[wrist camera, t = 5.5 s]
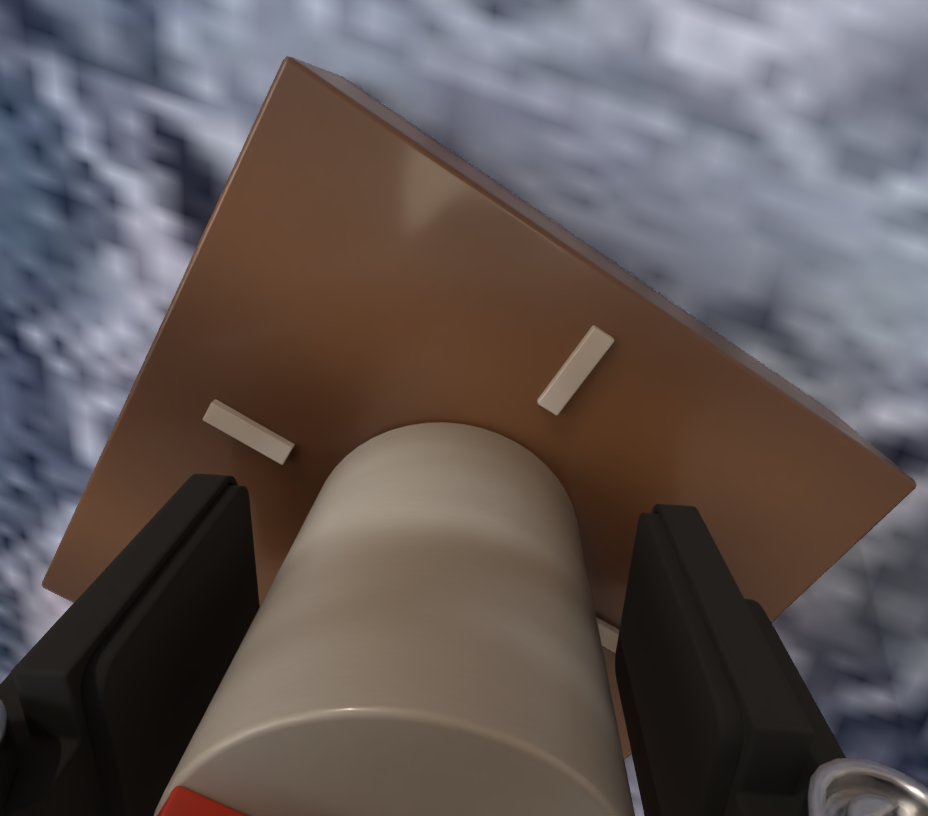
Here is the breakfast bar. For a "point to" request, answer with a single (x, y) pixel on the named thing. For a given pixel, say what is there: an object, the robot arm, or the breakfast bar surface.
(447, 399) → the base
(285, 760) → the dial
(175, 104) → the breakfast bar surface
